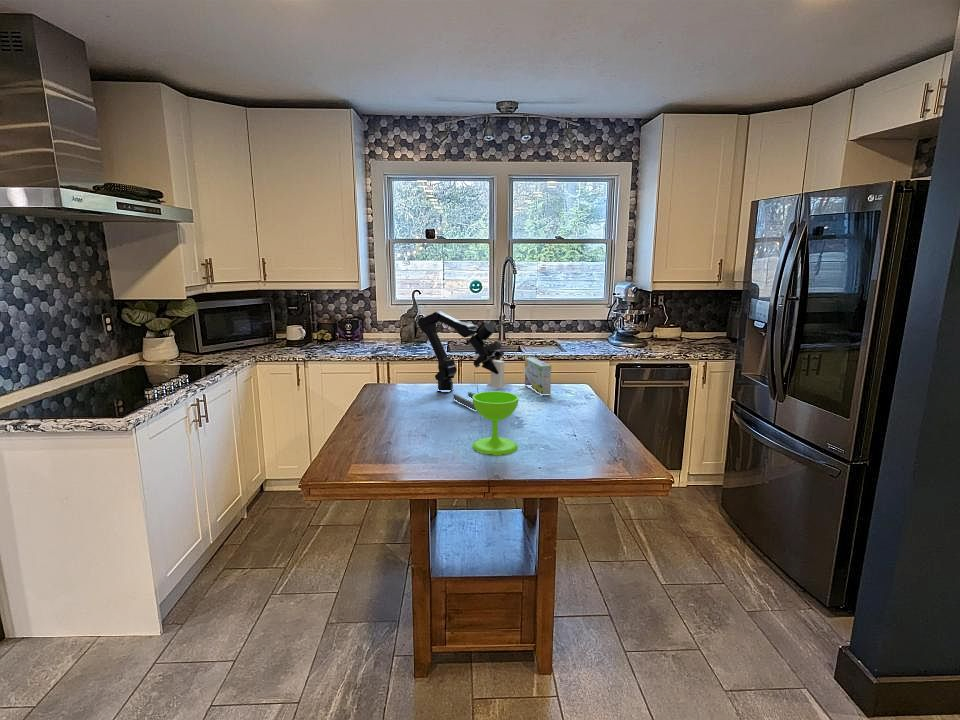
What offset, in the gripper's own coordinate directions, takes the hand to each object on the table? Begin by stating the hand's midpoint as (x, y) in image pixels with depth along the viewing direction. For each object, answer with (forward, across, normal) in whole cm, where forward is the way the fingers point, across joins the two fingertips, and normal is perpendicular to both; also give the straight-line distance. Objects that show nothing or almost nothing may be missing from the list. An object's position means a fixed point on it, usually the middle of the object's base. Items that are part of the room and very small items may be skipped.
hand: (500, 372), depth 239 cm
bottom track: (+5, -12, +14) cm, 19 cm away
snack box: (+13, +27, +6) cm, 31 cm away
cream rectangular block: (+4, 0, +6) cm, 7 cm away
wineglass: (+30, -51, -11) cm, 61 cm away
